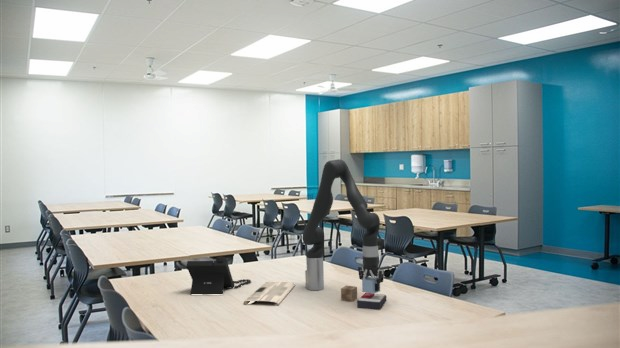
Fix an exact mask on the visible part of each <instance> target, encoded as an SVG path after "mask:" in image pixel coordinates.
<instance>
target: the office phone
mask: <svg viewBox="0 0 620 348" xmlns="http://www.w3.org/2000/svg"><path fill="white" fill-rule="evenodd" d="M186 268H187V270H188V272H189V276H190V277H191V287H190V288H191V290H190V295H191V294H223V295H224V289H225V288H224V287H232V288H231V289H233V287H234V289H239V288H238V287H240V288H241V287H242V286H245V285H244V284H246V285H248V283H249V284H250V283H251V282H252V280H251V279H248V278H246V279H243V278H242V279H238V280H233V276H232V273H231V270H230V266H229V263H228V259H227V258H226V256H222V255H221V256H218V257H216V258H215V260H214V261H213V260H188V261H186ZM241 281H243V282H241ZM244 281H247V282H244ZM239 282H240V283H239ZM234 283H236V284H238V285H235V284H234ZM241 285H242V286H241Z"/></svg>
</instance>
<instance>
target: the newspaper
mask: <svg viewBox="0 0 620 348" xmlns="http://www.w3.org/2000/svg"><path fill="white" fill-rule="evenodd" d="M296 285H297V284H296V283H295V282H293V281H284V280H282V281H280V280H279V281H277V280H276V281H275V280H274V281H270V280H269V281H265V282H264V283H263V284H262V285H261V286H260V287H258V288H257V290H255V291H254V292H253V293H252V294H251V295H249V296H248V297H247V298H246V299H245V300H244V301H243V305H247V304H248V303H249V302H250V301H257V302H271V303H274V304H273V306H275V305H276V307H278V306H280V304H281V303H282V302H283V301H284V300H285V298H286V297H287V296H288V295H289V293H290V292H291V291H292V290H293V289H294V288H295V286H296ZM275 303H276V304H275Z"/></svg>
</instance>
